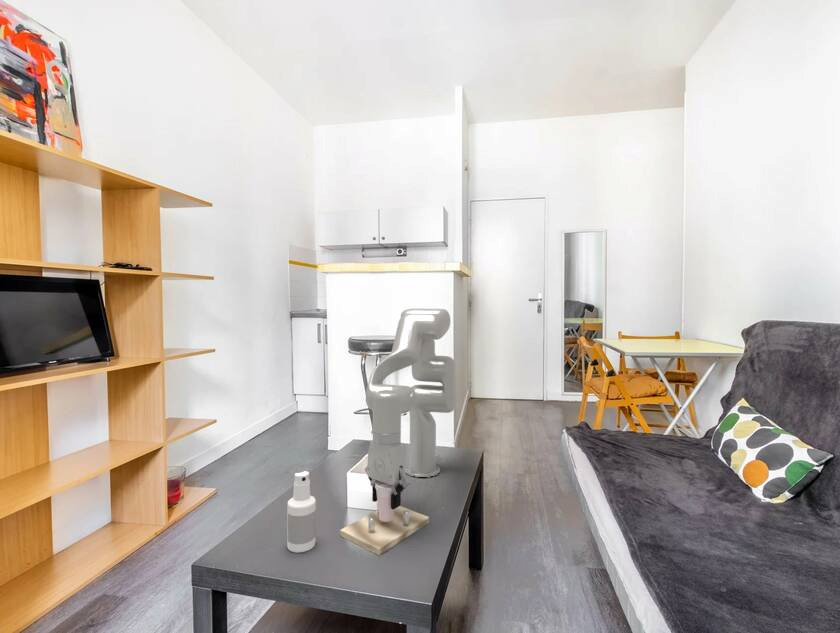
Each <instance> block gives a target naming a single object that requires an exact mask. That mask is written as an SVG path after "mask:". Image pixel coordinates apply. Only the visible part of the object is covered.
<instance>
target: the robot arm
mask: <svg viewBox="0 0 840 633" xmlns="http://www.w3.org/2000/svg"><path fill="white" fill-rule="evenodd" d="M450 325H451V316H450V313H449V311H448V310H447V309H445V308H408V309H404V310H402V312H401V313H400V318H399V320H398V324H397V327H396V332H395V336H394V339H393V340H394V341H393V345H392V348H391V352H390V353H389V354H388V355H386V356H385V357H383V359H382V360H380V361H379V363H378V364H377V365H376V366H374V368H373V370H372V372H371V374H370V377H369V379H368V380H369V381H368V384H367V388H366V392H365V403H366V406H367V407H368V408H369V409H370V410H372V429H371V432H370V433H371V435H372V439H371V440H370V444H369V446H368V452H367V465H366V467H365V468H364V471H365V473H366V475H367V477H368V479H369V482H370V486H371V488H372V495H371V496H372V499H371V501H372V502H374V503H375V502H376V503H377V492H376V488H375V482H376V481H380V482H383V483H386V484H389V485H391V488H392V491H393V494H391V509H393V510H394V509H395V508H397V507H399V506H401V503H402V502H401V501H402V495H401V494H402V492H403V491H404V490H405V489H406V488H407V487H408V486H409V485H410V484H411V481H410V479H409V477H408V476H411V477H413V476H415V477H414V478H418V477H427V478H432V477H431V476H433V477H436V476H437V475H439V474H440V472H441V468H440V466H439V465H437V463H438V462H440V461H441V460H442V459H443V457H442V455H440V454H439V455H437V454H436V451H437V447H436V446H437V445H436V444H437V424H436V423H437V422H436V420H435V418H434V416H433V415H432V413H438V414H439V413H440V414H449V413H452V412H453V411H454V410H455V408H456V404H457V402H456V400H457V383H456V382H457V371H456V369H457V368H456V363H455V360H454V359H453V358H452V356H451V357H450V356H447V355H436V347H435V346H436V343H435V342H436V341H435V340H440V339H442V338H443V337H444V336H445V335H446V334H447V332H448V331H449V329H450ZM410 366H411V375H412V378H413V379H414V380H415V381H418V382H425V383H426V382H427V383H440V384H441V385H434V384H415V385H413V386H408V385H400V384H386V383H385V384H383V382H384V380H385V379H386V378H388V377H389V376H390V375H392V374H394V373H395V372H398V371H401V370H403V369H405V368H407V367H410ZM406 413H409V464H408V465H406V464H405V463H406V462H405V453H404V446H403V443H402V433H401V432H402V414H406ZM405 465H406V466H405ZM438 473H439V474H438ZM407 475H408V476H407ZM435 475H436V476H435ZM396 483H397V485H398V486H397V488H396V485H395V484H396Z"/></svg>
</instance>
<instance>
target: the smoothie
mask: <svg viewBox="0 0 840 633" xmlns="http://www.w3.org/2000/svg"><path fill="white" fill-rule="evenodd" d="M395 485H396V488H397V486H398V485H397V483H396V484H395ZM375 488H376V492H377V501H376V503H377V502H378V511H379V519H380V520H381V521H383V522H389V521H391V520H393V515H394V510H393V509H391V494H393V491H392V488H391V485H389V484H386V483H383V482H380V481H376V482H375Z"/></svg>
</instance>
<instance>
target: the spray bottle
mask: <svg viewBox="0 0 840 633" xmlns="http://www.w3.org/2000/svg"><path fill="white" fill-rule="evenodd" d="M310 485H311V481H310V472H309V471H307V470H304V471H301V472H295V473H294V481H293V492H292V495H293V496H292V497H291V498H290V499H289V500H288V501H287V509H286V511H287V513H286V514H287V515H286V516H287V517H286V533H287V534H286V536H287V537H286V538H287V539H286V540H287V541H286V546H287V549H288V550H289V551H290V552H292V553H298V554H299V553H305V552H308V551H309V550H311V549H313V548H314V547H315V545H316V539H317V537H316V532H317V528H316V524H317V522H316V520H317V515H316V514H317V513H316V512H317V500H316V498H315V496H313V495H311V489H310V488H311V486H310Z"/></svg>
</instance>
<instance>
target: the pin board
mask: <svg viewBox="0 0 840 633" xmlns="http://www.w3.org/2000/svg"><path fill="white" fill-rule="evenodd" d="M376 503H377V505H376V506H377V507H376V508H377V510H375V511H373V512H371V513H369V514H367V515H365V516H364V517H362V518H360V519H358V520H356V521H354V522H352V523H351V524H348V525H347V526H345V527H343V528H341V529H339V536H340V537H342V538H343V539H346V540H348V541H350V542H351V543H353V544H356V545H358V546H360V547H361V548H363V549H365V550H368V551H370V552H372V553H373V554H376V555H378V556H380V555H383V553H385V552H387V551H388V550H390V549H392V547H395V546H396V545H398V543H401V541H403V540H405V539H407V538H408V537H409V536H411V535H412V534H414V533H415V532H417V531H419V530H420V529H422V528H423V527H424V526H427V525H428V524H429V523H430V517H429V516H427V515H424V514H422V513H419V512H417V511H415V510H413V509H412V510H411V509H409V508H407V507H405V506H401V505H400V506H399V507H397V508H395V509H394V515H393V520H391V521H389V522H383V521H381V520H380V519H379V511H378V502H377V501H376Z"/></svg>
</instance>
